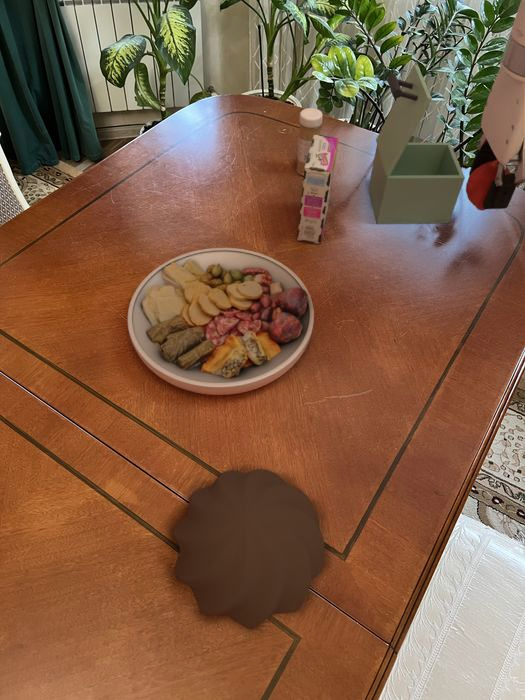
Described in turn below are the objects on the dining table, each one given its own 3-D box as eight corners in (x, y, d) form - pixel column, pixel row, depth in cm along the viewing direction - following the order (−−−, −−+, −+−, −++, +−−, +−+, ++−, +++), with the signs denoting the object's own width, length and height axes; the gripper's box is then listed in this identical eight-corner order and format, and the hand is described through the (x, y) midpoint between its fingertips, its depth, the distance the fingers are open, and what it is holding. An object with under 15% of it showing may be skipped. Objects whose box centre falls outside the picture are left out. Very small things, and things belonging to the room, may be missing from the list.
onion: (455, 195, 81) (472, 144, 75) (496, 195, 81) (516, 145, 75) (463, 222, 78) (482, 171, 71) (506, 222, 78) (528, 172, 71)
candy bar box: (321, 245, 110) (331, 172, 97) (296, 241, 110) (302, 168, 97) (329, 209, 117) (339, 136, 104) (305, 205, 117) (312, 132, 104)
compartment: (436, 188, 122) (450, 142, 113) (448, 223, 115) (465, 177, 106) (368, 188, 121) (377, 142, 113) (376, 224, 114) (387, 177, 106)
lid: (418, 65, 101) (390, 56, 100) (432, 99, 94) (402, 90, 92) (379, 140, 112) (354, 134, 111) (389, 176, 105) (362, 169, 104)
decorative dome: (165, 629, 68) (155, 607, 60) (180, 474, 80) (172, 439, 72) (328, 629, 68) (338, 607, 60) (318, 475, 80) (325, 440, 72)
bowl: (134, 416, 86) (125, 386, 79) (130, 276, 104) (123, 242, 98) (329, 392, 89) (335, 362, 83) (293, 260, 107) (295, 227, 101)
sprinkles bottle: (317, 166, 126) (324, 108, 115) (315, 178, 123) (321, 120, 112) (297, 163, 126) (301, 105, 116) (294, 175, 123) (298, 117, 113)
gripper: (605, 95, 58) (535, 233, 72) (545, 21, 68) (495, 154, 83) (532, 97, 58) (477, 235, 72) (483, 21, 68) (444, 155, 82)
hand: (487, 190), depth 77 cm, fingers closed on onion, 5 cm apart
